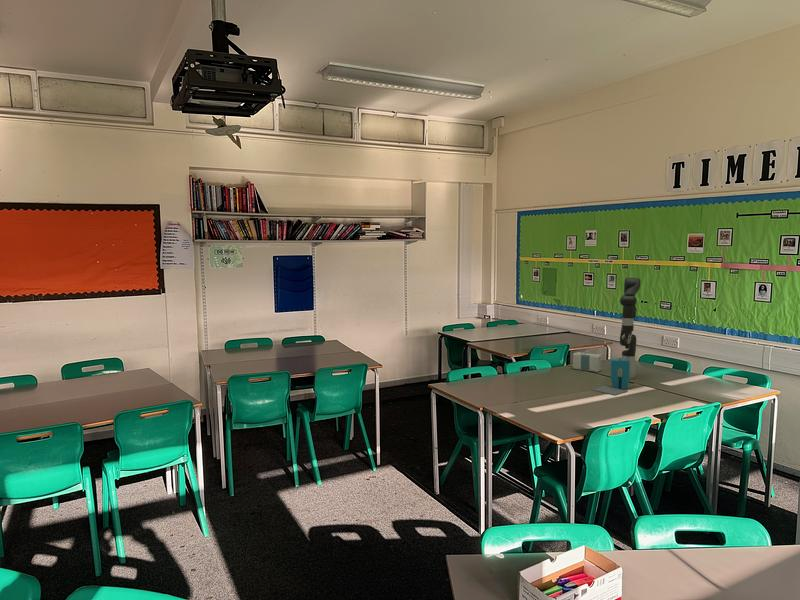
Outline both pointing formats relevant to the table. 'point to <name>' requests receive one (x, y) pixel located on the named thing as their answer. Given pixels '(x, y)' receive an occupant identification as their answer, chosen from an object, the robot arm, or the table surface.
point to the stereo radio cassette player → (587, 361)
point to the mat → (609, 390)
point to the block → (625, 366)
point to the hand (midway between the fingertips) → (627, 348)
